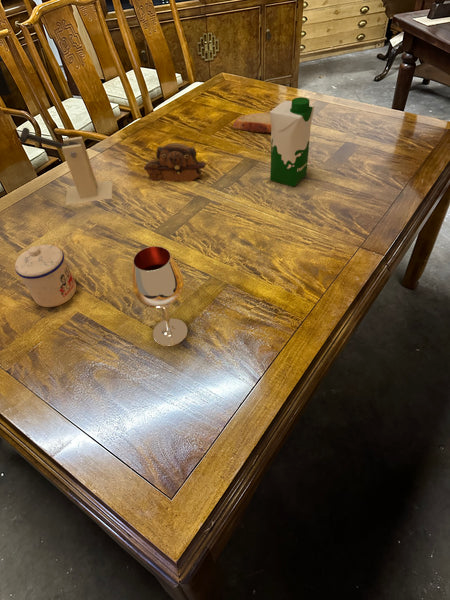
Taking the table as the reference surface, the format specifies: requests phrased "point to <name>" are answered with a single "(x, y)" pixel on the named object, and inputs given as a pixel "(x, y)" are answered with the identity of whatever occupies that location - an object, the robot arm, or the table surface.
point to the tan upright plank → (83, 175)
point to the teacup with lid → (46, 275)
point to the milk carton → (290, 140)
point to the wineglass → (159, 290)
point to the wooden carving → (175, 163)
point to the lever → (41, 139)
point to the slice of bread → (254, 122)
